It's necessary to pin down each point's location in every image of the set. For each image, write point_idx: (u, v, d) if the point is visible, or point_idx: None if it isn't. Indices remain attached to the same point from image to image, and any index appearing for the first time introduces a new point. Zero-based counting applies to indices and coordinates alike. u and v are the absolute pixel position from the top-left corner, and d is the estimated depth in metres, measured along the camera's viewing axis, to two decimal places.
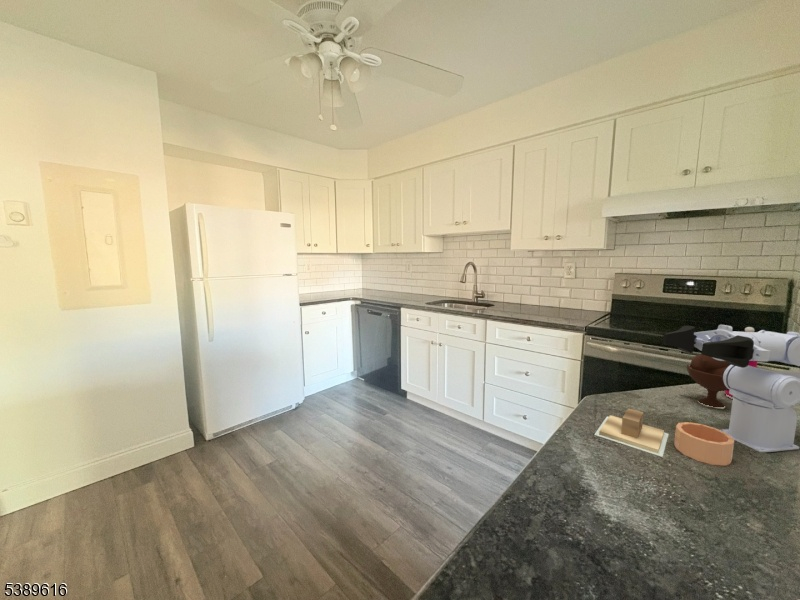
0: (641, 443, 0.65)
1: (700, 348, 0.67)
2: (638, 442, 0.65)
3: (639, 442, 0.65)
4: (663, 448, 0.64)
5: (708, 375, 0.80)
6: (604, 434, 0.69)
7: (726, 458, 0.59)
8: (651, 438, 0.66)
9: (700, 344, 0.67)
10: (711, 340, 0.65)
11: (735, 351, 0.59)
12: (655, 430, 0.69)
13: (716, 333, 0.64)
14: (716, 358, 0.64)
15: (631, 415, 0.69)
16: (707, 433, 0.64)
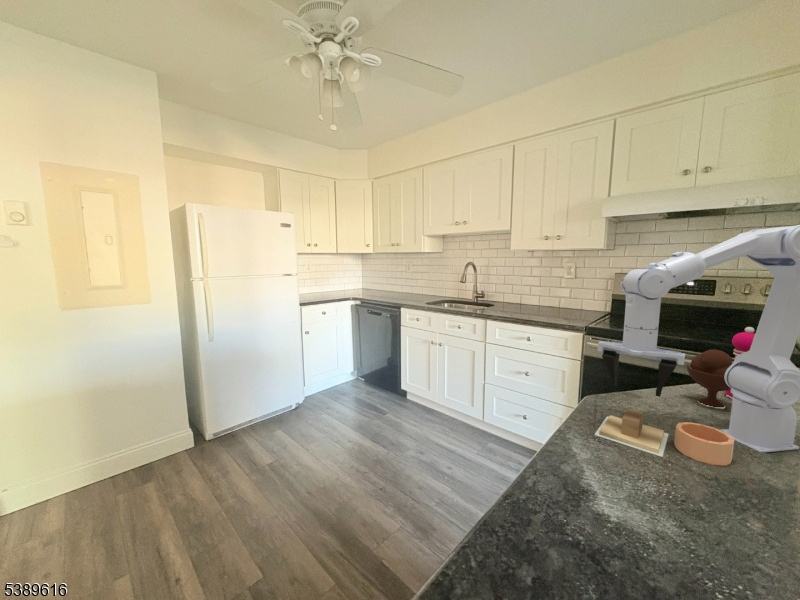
0: (641, 443, 0.65)
1: None
2: (638, 442, 0.65)
3: (639, 442, 0.65)
4: (663, 448, 0.64)
5: (708, 375, 0.80)
6: (604, 434, 0.69)
7: (726, 458, 0.59)
8: (651, 438, 0.66)
9: None
10: None
11: None
12: (655, 430, 0.69)
13: None
14: None
15: (631, 415, 0.69)
16: (707, 433, 0.64)
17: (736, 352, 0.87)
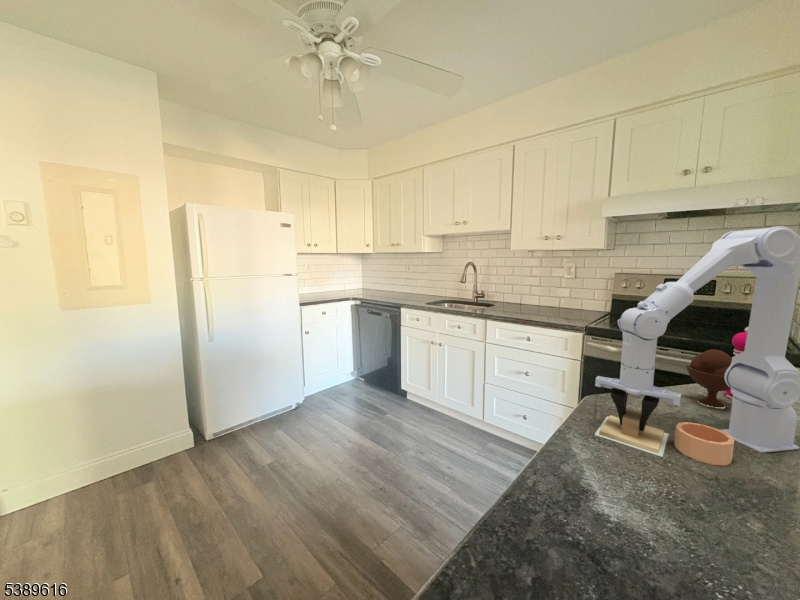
0: (641, 443, 0.65)
1: None
2: (638, 442, 0.65)
3: (639, 442, 0.65)
4: (663, 448, 0.64)
5: (708, 375, 0.80)
6: (604, 434, 0.69)
7: (726, 458, 0.59)
8: (651, 438, 0.66)
9: None
10: None
11: None
12: (655, 430, 0.69)
13: None
14: None
15: (631, 415, 0.69)
16: (707, 433, 0.64)
17: (736, 352, 0.87)
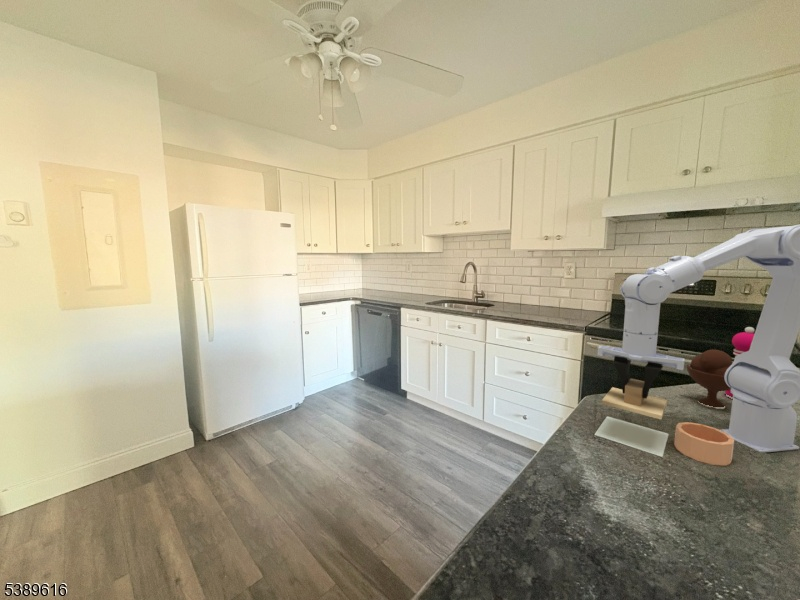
0: (644, 410, 0.64)
1: None
2: (641, 409, 0.64)
3: (642, 409, 0.64)
4: (663, 448, 0.64)
5: (708, 375, 0.80)
6: (606, 403, 0.68)
7: (726, 458, 0.59)
8: (654, 406, 0.65)
9: None
10: None
11: None
12: (658, 399, 0.69)
13: None
14: None
15: (634, 384, 0.68)
16: (707, 433, 0.64)
17: (736, 352, 0.87)
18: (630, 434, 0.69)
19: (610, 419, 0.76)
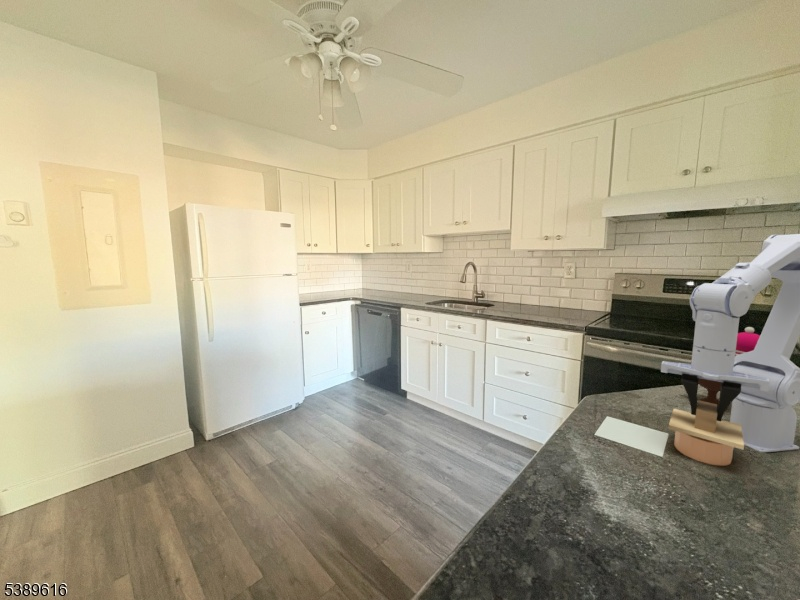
0: (721, 438, 0.57)
1: None
2: (718, 437, 0.58)
3: (719, 437, 0.58)
4: (663, 448, 0.64)
5: None
6: (675, 428, 0.61)
7: (726, 458, 0.59)
8: (731, 433, 0.59)
9: None
10: None
11: None
12: (730, 424, 0.62)
13: None
14: None
15: (705, 407, 0.61)
16: None
17: (736, 352, 0.87)
18: (630, 434, 0.69)
19: (610, 419, 0.76)
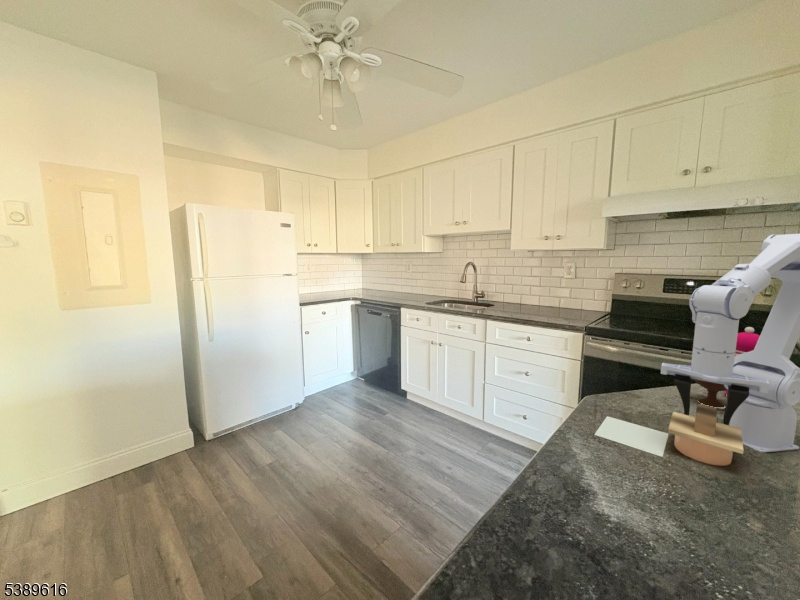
0: (721, 442, 0.57)
1: None
2: (717, 441, 0.58)
3: (718, 441, 0.58)
4: (663, 448, 0.64)
5: None
6: (674, 432, 0.62)
7: (726, 458, 0.59)
8: (730, 437, 0.59)
9: None
10: None
11: None
12: (730, 428, 0.62)
13: None
14: None
15: (705, 411, 0.62)
16: None
17: (736, 352, 0.87)
18: (630, 434, 0.69)
19: (610, 419, 0.76)
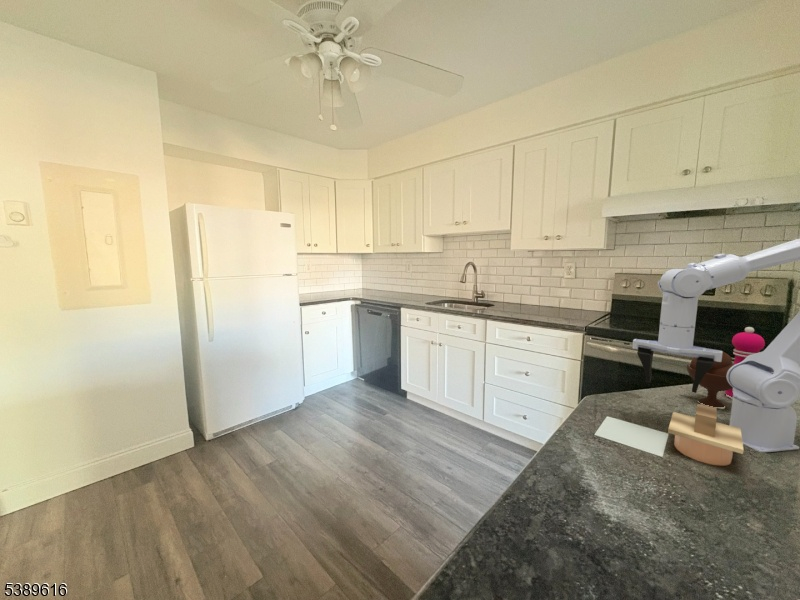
0: (721, 442, 0.57)
1: None
2: (717, 441, 0.58)
3: (718, 441, 0.58)
4: (663, 448, 0.64)
5: (708, 375, 0.80)
6: (674, 432, 0.62)
7: (726, 458, 0.59)
8: (730, 437, 0.59)
9: None
10: None
11: None
12: (730, 428, 0.62)
13: None
14: None
15: (705, 411, 0.62)
16: None
17: (736, 352, 0.87)
18: (630, 434, 0.69)
19: (610, 419, 0.76)
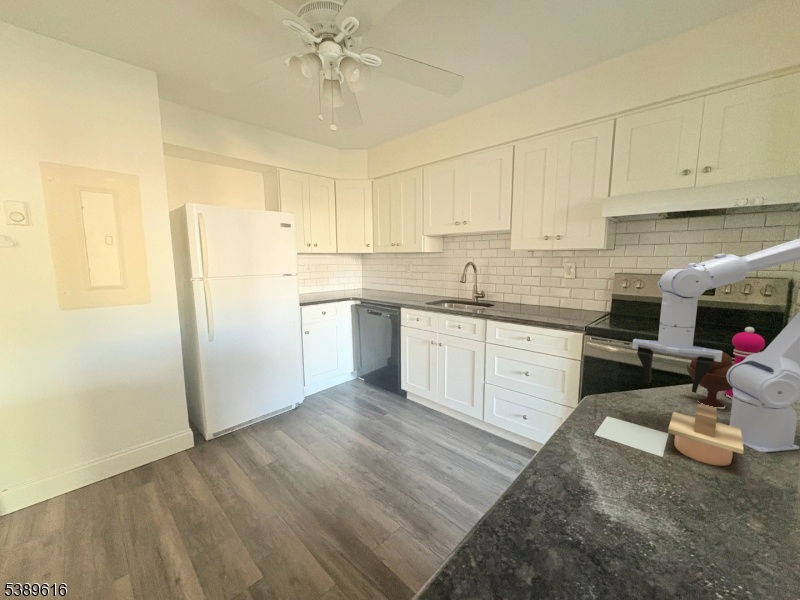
0: (721, 442, 0.57)
1: None
2: (717, 441, 0.58)
3: (718, 441, 0.58)
4: (663, 448, 0.64)
5: (708, 375, 0.80)
6: (674, 432, 0.62)
7: (726, 458, 0.59)
8: (730, 437, 0.59)
9: None
10: None
11: None
12: (730, 428, 0.62)
13: None
14: None
15: (705, 411, 0.62)
16: None
17: (736, 352, 0.87)
18: (630, 434, 0.69)
19: (610, 419, 0.76)
